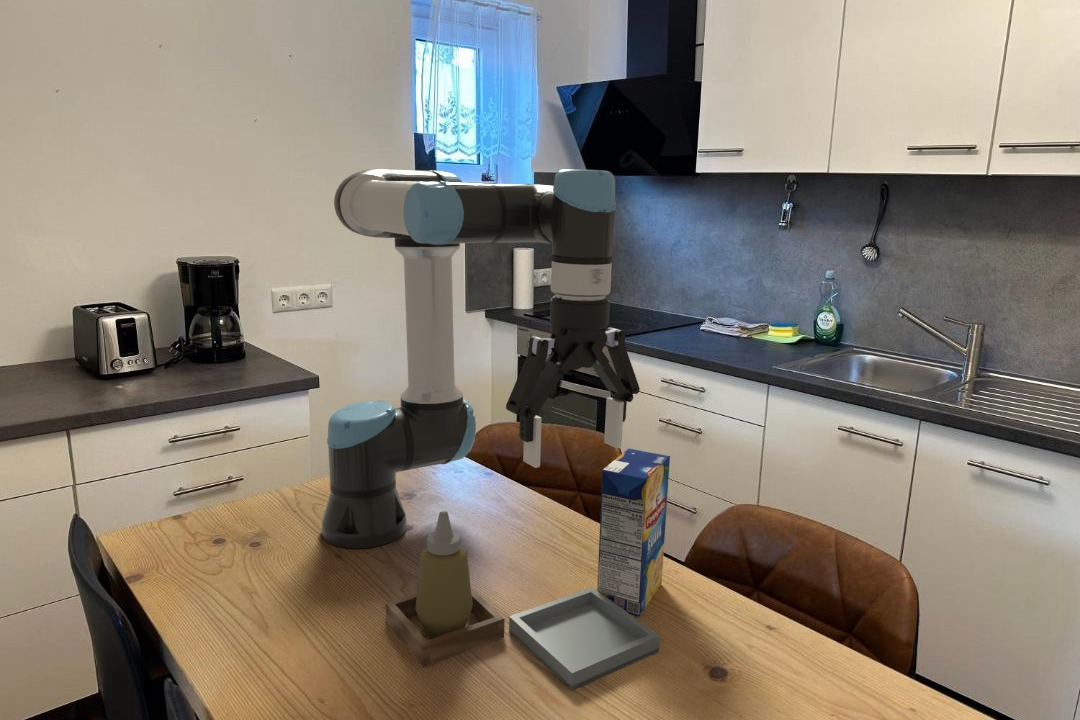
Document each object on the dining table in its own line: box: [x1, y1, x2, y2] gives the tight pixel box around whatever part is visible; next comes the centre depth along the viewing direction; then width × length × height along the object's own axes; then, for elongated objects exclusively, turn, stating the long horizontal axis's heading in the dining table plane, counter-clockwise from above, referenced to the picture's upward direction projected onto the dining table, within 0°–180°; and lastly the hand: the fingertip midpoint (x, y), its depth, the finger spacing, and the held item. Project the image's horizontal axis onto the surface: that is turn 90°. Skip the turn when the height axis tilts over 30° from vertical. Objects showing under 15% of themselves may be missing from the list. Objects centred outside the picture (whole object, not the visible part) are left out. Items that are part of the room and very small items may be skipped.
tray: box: [508, 586, 661, 691], centre depth 103 cm, size 15×15×2 cm
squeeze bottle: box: [416, 510, 473, 639], centre depth 103 cm, size 8×8×18 cm
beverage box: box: [596, 448, 671, 618], centre depth 113 cm, size 7×11×22 cm, turn 153°
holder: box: [385, 587, 506, 668], centre depth 105 cm, size 12×12×3 cm
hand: (573, 454), depth 98 cm, fingers open, 13 cm apart
